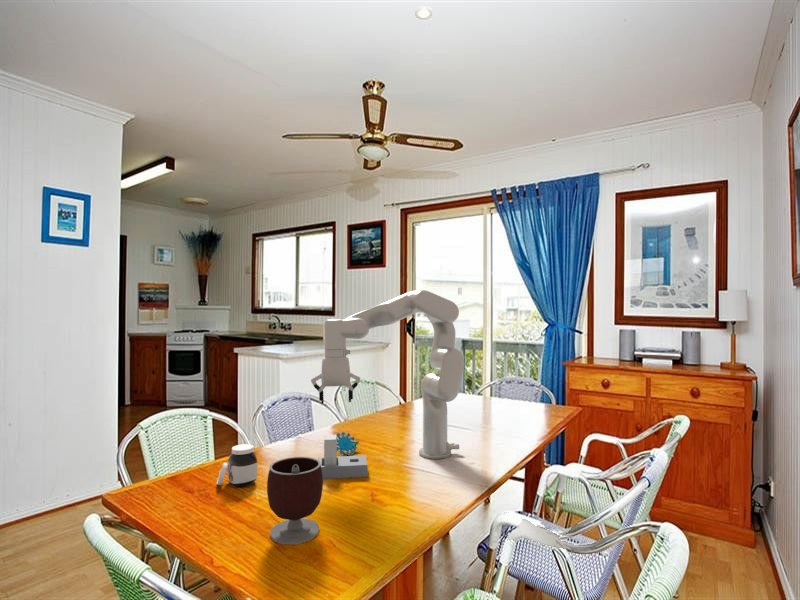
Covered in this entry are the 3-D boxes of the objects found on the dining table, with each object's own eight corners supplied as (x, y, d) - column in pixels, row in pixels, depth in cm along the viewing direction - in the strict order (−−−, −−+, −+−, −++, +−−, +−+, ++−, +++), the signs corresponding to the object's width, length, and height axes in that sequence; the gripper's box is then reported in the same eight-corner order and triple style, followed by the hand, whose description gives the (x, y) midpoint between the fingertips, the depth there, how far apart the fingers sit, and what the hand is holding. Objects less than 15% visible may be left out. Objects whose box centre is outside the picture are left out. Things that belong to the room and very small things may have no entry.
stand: (365, 466, 163) (365, 455, 163) (367, 476, 153) (367, 464, 153) (317, 468, 160) (317, 457, 160) (316, 479, 150) (316, 467, 151)
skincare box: (324, 468, 159) (324, 434, 159) (336, 468, 159) (336, 434, 160) (323, 475, 153) (324, 439, 153) (336, 474, 153) (336, 439, 154)
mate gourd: (268, 522, 120) (268, 447, 121) (321, 517, 123) (321, 443, 124) (264, 553, 105) (265, 467, 105) (324, 546, 108) (325, 462, 109)
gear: (336, 454, 172) (332, 430, 178) (331, 461, 175) (327, 438, 182) (362, 453, 177) (357, 431, 184) (356, 461, 180) (352, 438, 187)
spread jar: (260, 483, 147) (261, 448, 147) (226, 494, 138) (227, 456, 139) (243, 474, 155) (244, 440, 155) (210, 483, 147) (211, 447, 147)
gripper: (359, 352, 165) (359, 398, 165) (311, 353, 162) (311, 401, 162) (360, 354, 157) (361, 403, 157) (310, 355, 155) (311, 405, 154)
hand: (336, 402), depth 160 cm, fingers open, 9 cm apart
